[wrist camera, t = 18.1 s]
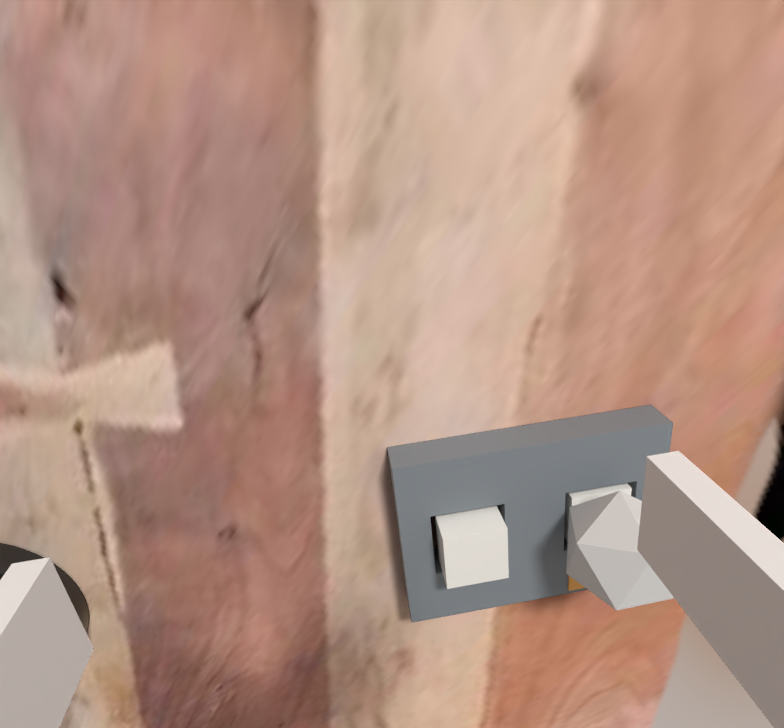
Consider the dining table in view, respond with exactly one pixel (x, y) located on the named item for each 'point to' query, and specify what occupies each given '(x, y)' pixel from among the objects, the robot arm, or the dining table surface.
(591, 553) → the die
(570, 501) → the tagged button
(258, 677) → the dining table surface
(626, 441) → the breaker panel
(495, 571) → the button
